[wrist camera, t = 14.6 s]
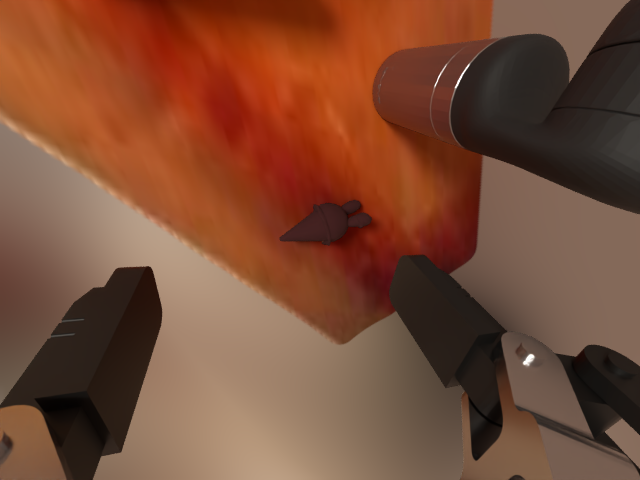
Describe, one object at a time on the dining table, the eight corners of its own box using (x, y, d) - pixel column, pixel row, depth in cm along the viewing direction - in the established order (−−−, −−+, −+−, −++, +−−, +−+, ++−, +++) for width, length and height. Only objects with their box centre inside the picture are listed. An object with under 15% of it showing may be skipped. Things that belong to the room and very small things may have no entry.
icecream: (290, 270, 43) (374, 239, 45) (280, 239, 37) (377, 206, 40) (278, 240, 47) (356, 213, 50) (268, 209, 42) (356, 180, 44)
